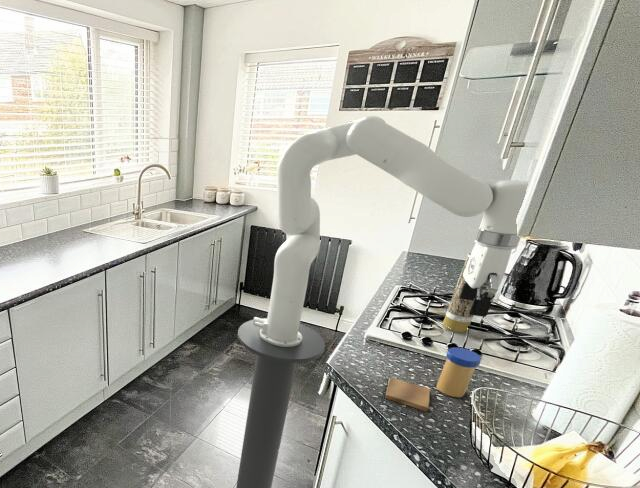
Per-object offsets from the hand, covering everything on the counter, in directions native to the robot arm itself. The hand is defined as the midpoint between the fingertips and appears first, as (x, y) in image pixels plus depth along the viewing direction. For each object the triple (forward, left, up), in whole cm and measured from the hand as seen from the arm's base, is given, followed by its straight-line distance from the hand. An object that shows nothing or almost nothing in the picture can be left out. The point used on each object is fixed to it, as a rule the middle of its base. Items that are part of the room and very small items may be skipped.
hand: (471, 307), depth 101 cm
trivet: (-7, -11, -23) cm, 26 cm away
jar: (+2, -2, -23) cm, 23 cm away
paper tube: (+3, +39, -23) cm, 45 cm away
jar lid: (+2, -2, -12) cm, 12 cm away
